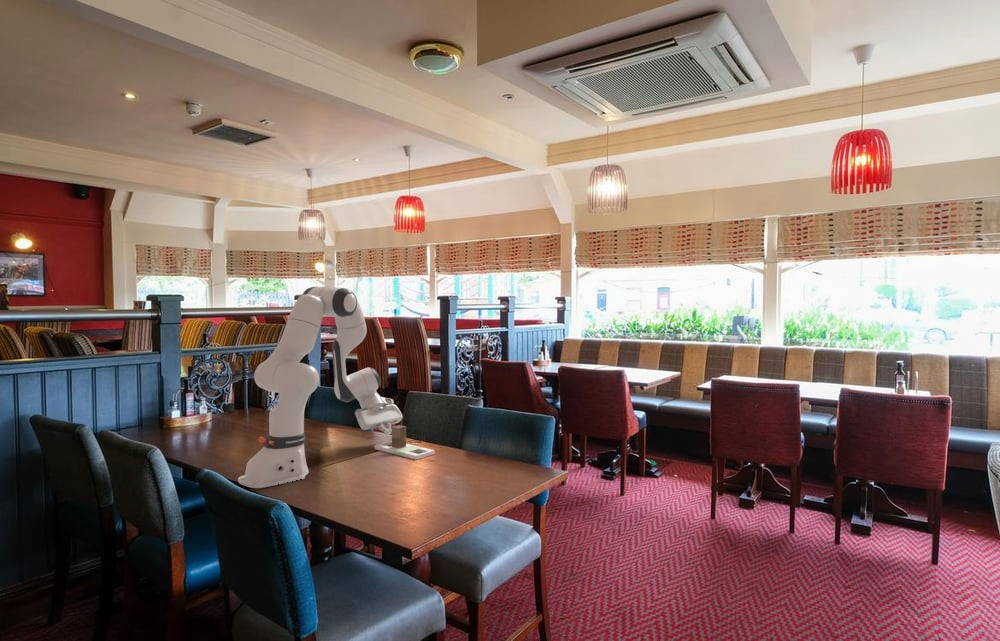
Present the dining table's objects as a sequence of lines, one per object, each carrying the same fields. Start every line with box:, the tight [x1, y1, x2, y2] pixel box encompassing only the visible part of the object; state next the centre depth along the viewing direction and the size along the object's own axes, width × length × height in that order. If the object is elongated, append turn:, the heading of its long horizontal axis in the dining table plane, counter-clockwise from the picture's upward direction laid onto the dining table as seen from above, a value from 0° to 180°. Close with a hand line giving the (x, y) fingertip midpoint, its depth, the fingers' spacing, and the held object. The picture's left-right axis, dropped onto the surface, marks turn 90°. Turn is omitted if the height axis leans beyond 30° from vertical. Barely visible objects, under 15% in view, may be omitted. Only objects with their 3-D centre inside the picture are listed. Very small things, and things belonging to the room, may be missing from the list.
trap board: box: [373, 440, 436, 461], centre depth 222 cm, size 10×24×2 cm, turn 52°
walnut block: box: [391, 424, 407, 448], centre depth 224 cm, size 4×4×8 cm
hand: (389, 433), depth 227 cm, fingers closed
